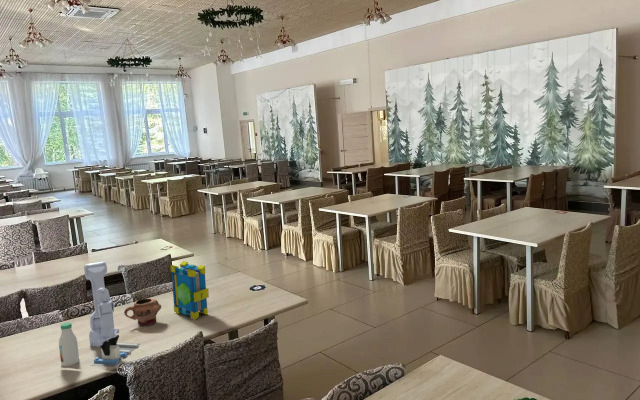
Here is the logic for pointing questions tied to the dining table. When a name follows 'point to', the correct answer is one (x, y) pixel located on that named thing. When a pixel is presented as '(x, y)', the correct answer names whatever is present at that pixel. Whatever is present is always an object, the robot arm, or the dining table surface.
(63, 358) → the milk bottle
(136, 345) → the board
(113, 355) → the tall cream block
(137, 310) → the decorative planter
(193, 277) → the decorative book
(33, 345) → the dining table surface
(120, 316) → the dining table surface
